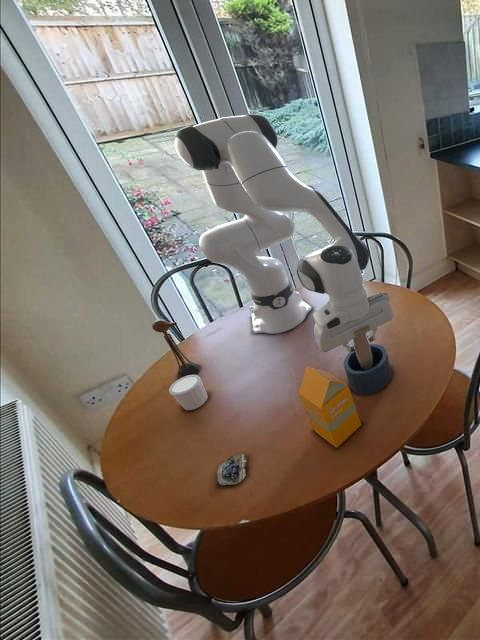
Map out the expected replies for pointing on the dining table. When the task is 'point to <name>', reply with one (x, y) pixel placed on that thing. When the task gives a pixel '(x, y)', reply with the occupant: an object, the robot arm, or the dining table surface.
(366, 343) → the handle
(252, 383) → the dining table surface
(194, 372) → the wooden tabletop sculpture
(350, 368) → the jar
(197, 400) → the white ribbed cylinder
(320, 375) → the orange juice
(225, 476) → the mineral rock
